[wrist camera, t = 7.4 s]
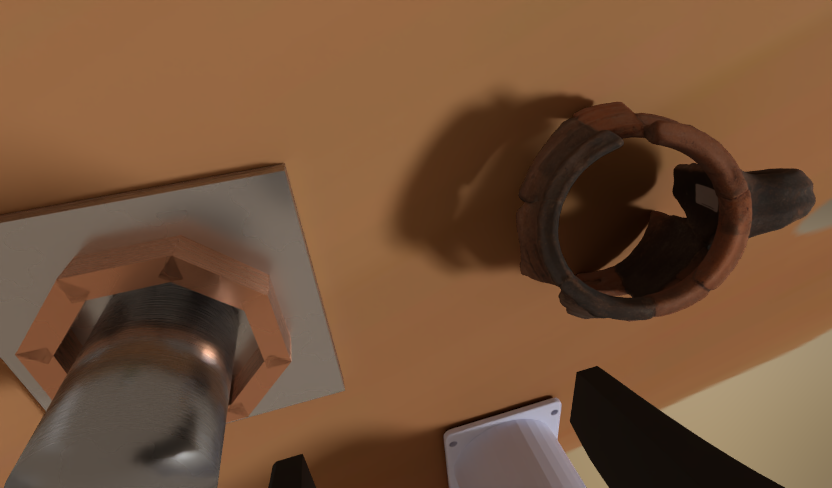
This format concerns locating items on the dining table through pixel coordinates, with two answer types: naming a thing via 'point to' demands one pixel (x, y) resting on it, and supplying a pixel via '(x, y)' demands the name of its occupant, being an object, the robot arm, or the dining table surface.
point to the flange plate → (178, 263)
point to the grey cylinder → (140, 398)
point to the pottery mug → (653, 216)
